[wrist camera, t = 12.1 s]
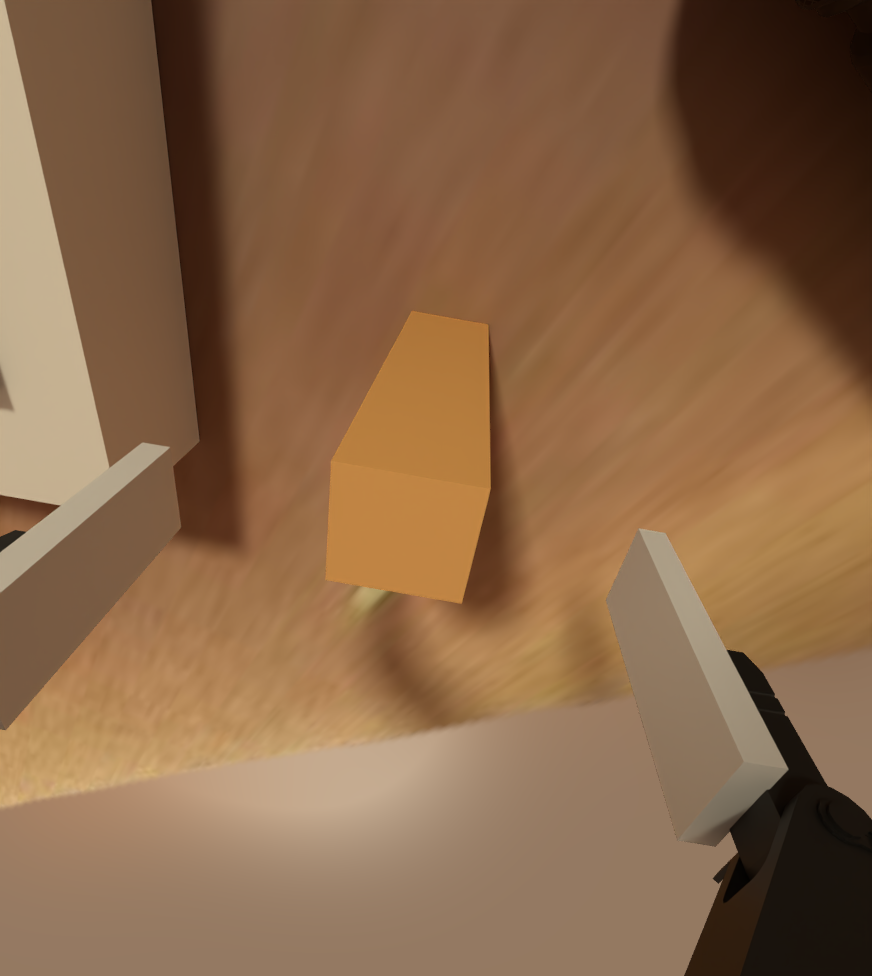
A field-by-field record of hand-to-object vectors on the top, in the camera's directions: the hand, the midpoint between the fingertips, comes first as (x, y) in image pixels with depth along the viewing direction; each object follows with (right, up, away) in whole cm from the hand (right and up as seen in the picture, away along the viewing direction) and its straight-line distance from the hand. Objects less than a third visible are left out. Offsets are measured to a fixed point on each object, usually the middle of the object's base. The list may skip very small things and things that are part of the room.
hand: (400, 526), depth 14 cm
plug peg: (+1, +8, +13) cm, 15 cm away
